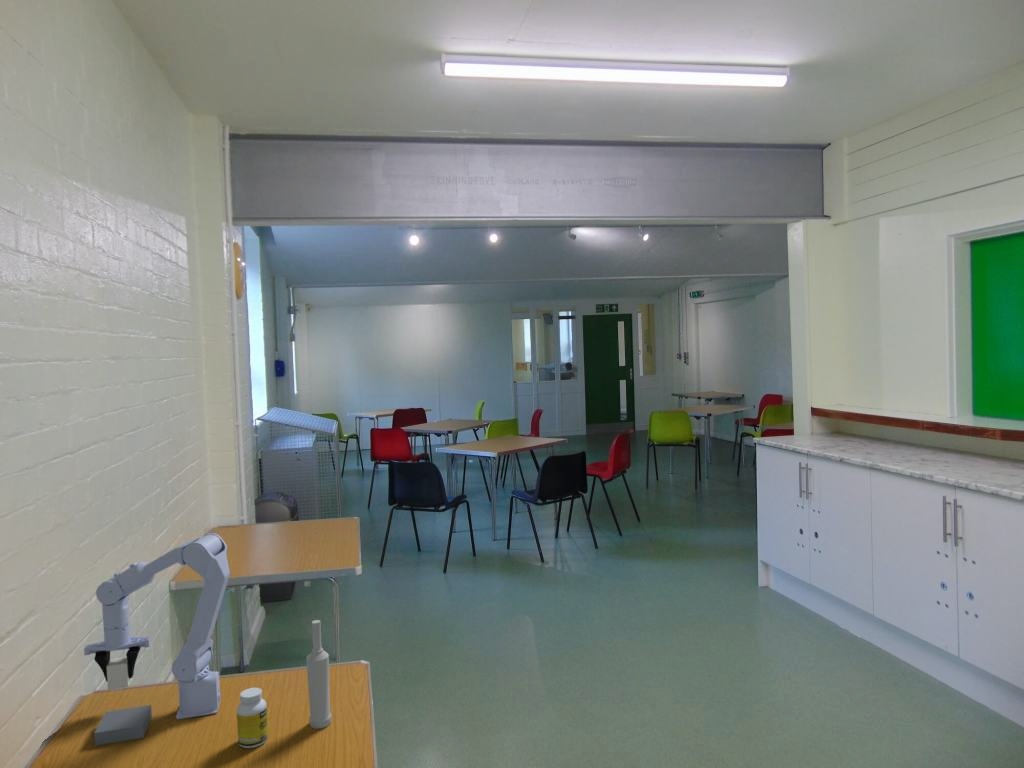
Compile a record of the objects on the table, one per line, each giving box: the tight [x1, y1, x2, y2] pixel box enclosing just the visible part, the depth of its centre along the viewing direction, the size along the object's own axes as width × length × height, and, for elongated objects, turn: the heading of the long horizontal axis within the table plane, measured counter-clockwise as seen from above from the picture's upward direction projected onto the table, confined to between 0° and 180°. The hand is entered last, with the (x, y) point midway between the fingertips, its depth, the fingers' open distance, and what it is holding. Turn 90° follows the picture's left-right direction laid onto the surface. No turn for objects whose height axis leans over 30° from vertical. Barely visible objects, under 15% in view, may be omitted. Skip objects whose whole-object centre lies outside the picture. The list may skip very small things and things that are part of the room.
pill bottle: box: [236, 687, 269, 749], centre depth 163 cm, size 6×6×12 cm
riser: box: [93, 704, 153, 747], centre depth 170 cm, size 10×10×3 cm
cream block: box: [106, 656, 133, 691], centre depth 179 cm, size 4×4×6 cm
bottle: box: [306, 619, 332, 730], centre depth 170 cm, size 5×5×25 cm
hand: (119, 678), depth 179 cm, fingers closed on cream block, 4 cm apart
